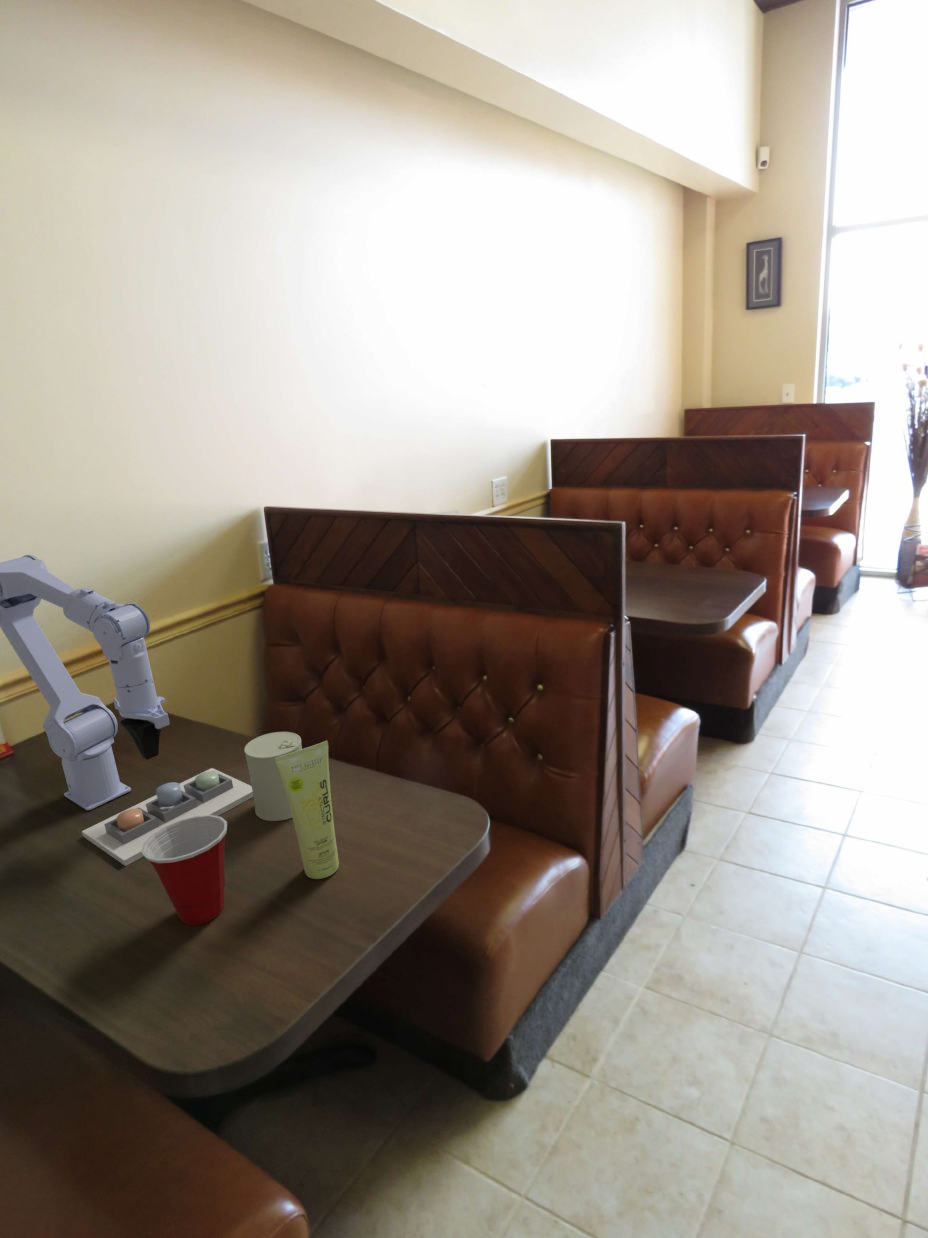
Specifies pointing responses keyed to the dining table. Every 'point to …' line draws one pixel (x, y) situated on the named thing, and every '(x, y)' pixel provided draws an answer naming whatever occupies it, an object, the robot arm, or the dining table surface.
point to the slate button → (169, 794)
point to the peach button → (129, 819)
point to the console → (167, 816)
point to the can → (270, 773)
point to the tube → (311, 807)
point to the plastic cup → (191, 865)
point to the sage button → (207, 781)
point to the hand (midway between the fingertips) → (150, 756)
